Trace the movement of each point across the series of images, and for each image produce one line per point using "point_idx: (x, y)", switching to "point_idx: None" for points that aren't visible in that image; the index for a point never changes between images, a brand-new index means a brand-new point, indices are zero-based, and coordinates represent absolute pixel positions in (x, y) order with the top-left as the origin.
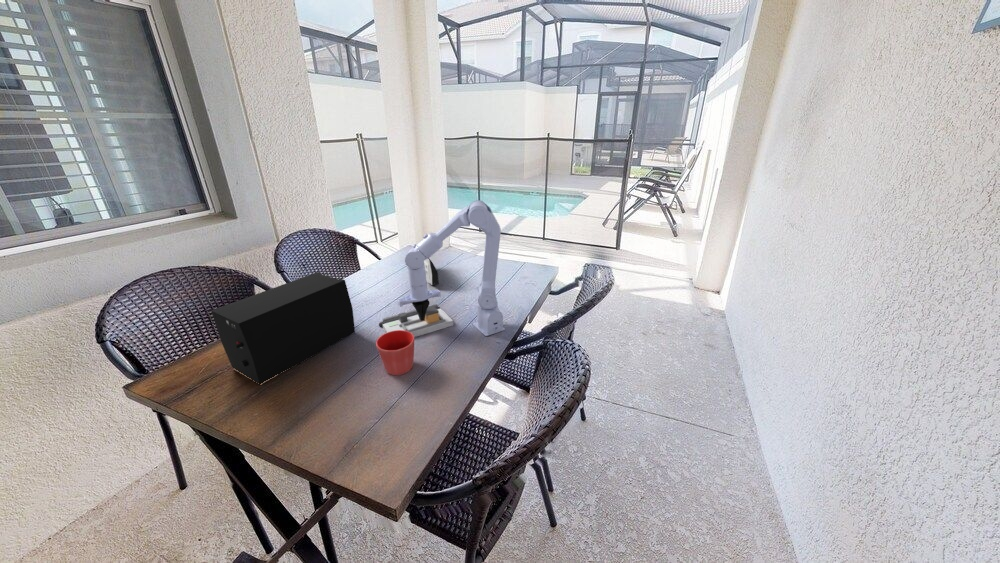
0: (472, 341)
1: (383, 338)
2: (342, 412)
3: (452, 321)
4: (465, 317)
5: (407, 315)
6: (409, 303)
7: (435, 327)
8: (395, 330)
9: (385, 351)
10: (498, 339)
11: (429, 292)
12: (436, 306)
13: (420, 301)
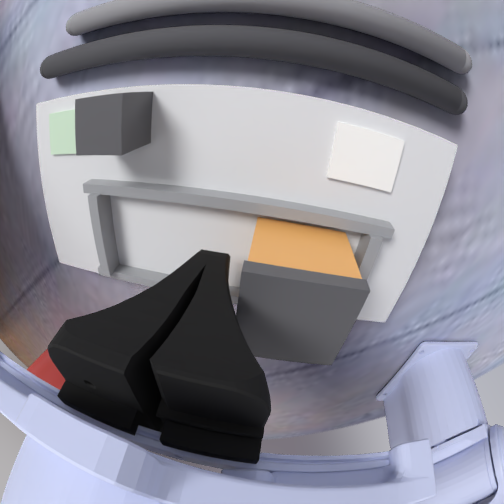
0: (330, 394)
1: None
2: (34, 351)
3: (381, 318)
4: (462, 278)
5: (194, 40)
6: (50, 391)
7: None
8: None
9: None
10: (380, 409)
11: (331, 500)
12: (459, 71)
13: (164, 420)
